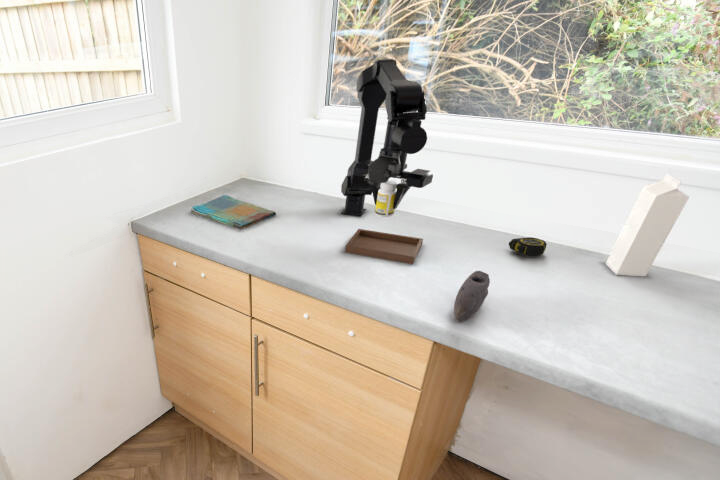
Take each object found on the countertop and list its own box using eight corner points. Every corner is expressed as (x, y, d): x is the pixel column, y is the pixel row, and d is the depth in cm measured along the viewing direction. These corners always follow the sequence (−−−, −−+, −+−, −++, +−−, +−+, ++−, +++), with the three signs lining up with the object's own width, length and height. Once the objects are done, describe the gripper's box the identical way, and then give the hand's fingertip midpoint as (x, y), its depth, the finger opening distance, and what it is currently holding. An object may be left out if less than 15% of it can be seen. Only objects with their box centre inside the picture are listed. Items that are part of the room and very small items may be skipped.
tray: (357, 235, 137) (358, 228, 135) (421, 245, 129) (423, 238, 128) (344, 252, 128) (345, 245, 127) (412, 264, 120) (414, 256, 119)
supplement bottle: (391, 211, 125) (397, 179, 120) (395, 217, 122) (401, 184, 117) (372, 211, 126) (378, 179, 121) (376, 217, 122) (381, 185, 117)
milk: (615, 275, 111) (663, 181, 98) (605, 263, 116) (649, 172, 103) (646, 276, 110) (698, 181, 97) (634, 265, 115) (682, 173, 102)
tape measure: (531, 247, 125) (536, 234, 123) (548, 258, 119) (554, 245, 117) (506, 249, 125) (510, 236, 123) (522, 260, 119) (527, 247, 117)
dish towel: (226, 200, 167) (225, 193, 165) (277, 215, 152) (277, 208, 151) (189, 213, 157) (189, 206, 156) (240, 231, 143) (240, 223, 141)
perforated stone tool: (468, 331, 95) (478, 302, 91) (441, 323, 98) (449, 294, 94) (487, 300, 104) (497, 272, 100) (462, 294, 107) (471, 266, 103)
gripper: (344, 145, 115) (337, 207, 124) (418, 156, 103) (404, 224, 113) (368, 136, 121) (359, 196, 130) (440, 146, 110) (425, 211, 119)
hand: (385, 206), depth 123 cm, fingers closed on supplement bottle, 5 cm apart
